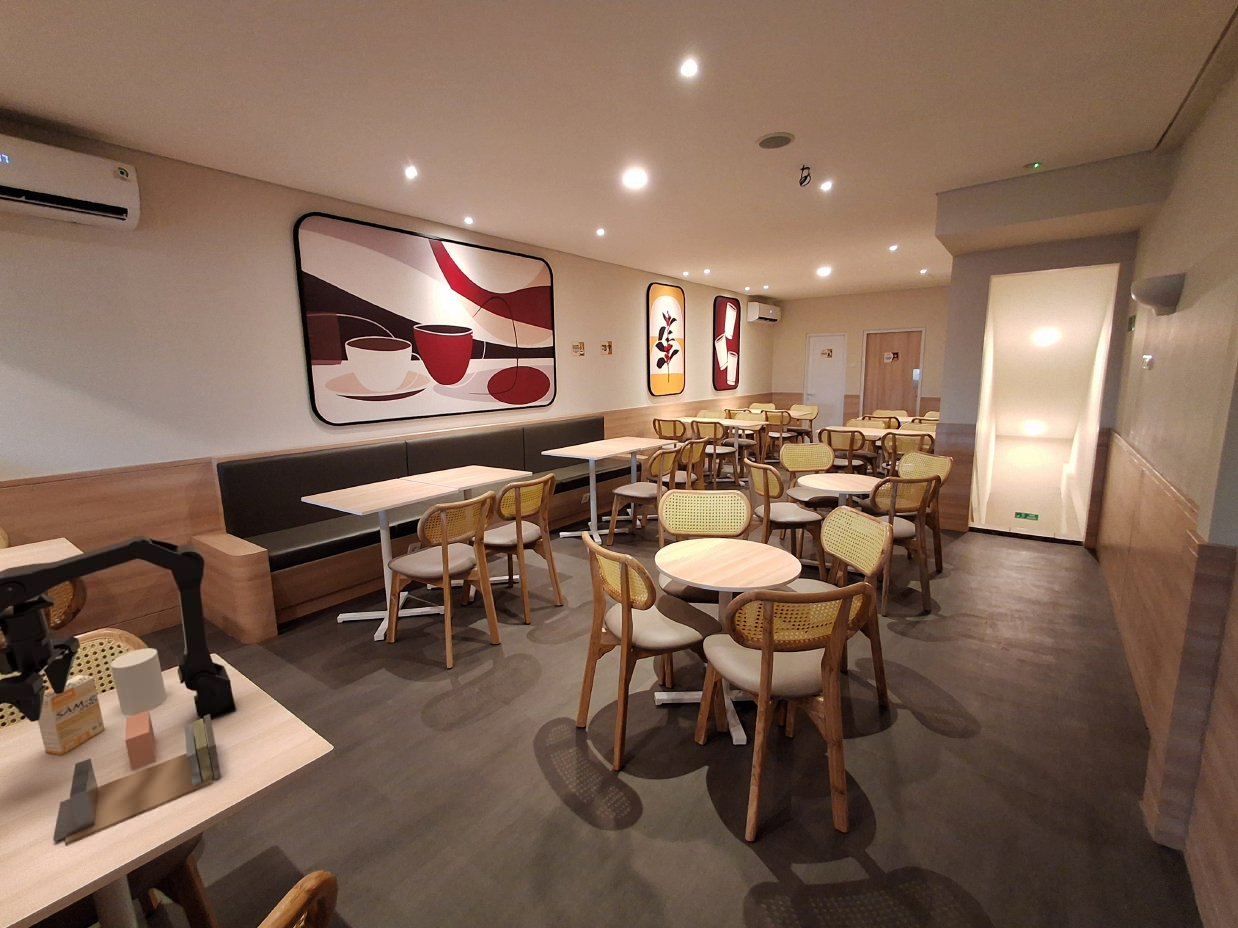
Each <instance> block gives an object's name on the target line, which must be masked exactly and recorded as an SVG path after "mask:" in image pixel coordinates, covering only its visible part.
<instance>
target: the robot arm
mask: <svg viewBox="0 0 1238 928" xmlns="http://www.w3.org/2000/svg"><path fill="white" fill-rule="evenodd" d="M135 560H142V561H144V562H147V563H149V564H152V565H155V566H158V567H159V568H162V569H166V570H169V571H171V574H172V576H173V579H174V582H175V584H176V587H177V589H178V590H177V591H178V599H179V606H180V613H181V622H182V631H183V638H184V651H183V654H178V655H175V657H176V662H177V666H178V669H177V675H178V679H179V683H180V684H184V685H185V688H186V689H187V690H190V691H193V692H195V693H196V694H195V695H194V696H193V699H194V706H195V711H196V715H197V718H200V719H203V722H204V723H205V721H204V716H205V715H208V714H210V718H211V720H213V719H216V718H219V717H221V716H222V717H223V716H224V715H226V714H230V713H232V712H235V711H236V710H237V706H236V702H235V699H234V695H233V689H232V684H231V678H230V677H229V674H228V673H227V670H226V668H225V666H224V665H223V664H219V663H216V662H214V661H213V659H212V656H211V653H210V651H209V648H208V645H207V636H206V627H205V618H204V610H203V602H202V601H203V599H202V593H201V589H202V584H203V578H204V571H205V559H204V557H203V554H202V553H201V551H200V550H199V548H197V547H196V546H194V545H191V544H181V545H178V544H174V543H171V542H168V541H164V540H158V539H153V538H150V537H148V536H145V535H137V536H133V537H131V538H129V539H127V540H123V541H119V542H116V543H113V544H110V545H105V546H103V547H100V548H97V549H93V550H90V551H87V552H83V553H79V554H76V555H73V556H69V557H67V558H63V559H59V560H55V561H51V562H50V561H49V562H43V563H40V562H39V563H30V564H25V565H19V566H18V565H17V566H13V567H9V568H5V569H3V570H0V631H1V635H2V637H3V641H4V645H3V646H1V647H0V674H1V673H2V674H3V676H7V675H12V674H14V673H17V674H18V675H12V676H8V677H4V678H1V679H0V705H2V704H9V705H11V706H13V707H14V708H16V710H18V711H19V712H20V713H21V714H22V715H24V717H25V718H27V719H28V720H29V722H31V723H33V722H38V720H39V719H40V715H41V710H42V704H43V698H44V693H45V691H46V684H44V676H43V674H42V672H44V674H45V676H46V678H47V680H48V682H49V685H50V687H51V688H53V690H54V692H55V693H56V694H60V693H63V692H64V689H65V686H66V683H67V680H69V677H70V673H71V671H72V668H73V665H74V662H75V659H76V656H77V654H78V650H79V649H80V648H81V644H80V641H79V640H80V639H79V638H77V637H75V636H73V635H68V636H63V637H59V638H53V637H54V636H55V635H56V634H57V633H56V629H55V628H54V629H49V626H48V622H47V619H46V615H45V612H44V610H45V609H48V608H51V607H53V606H55V603H56V598H55V596H54V597H53V596H50V595H46V594H44V593H46V592H49V591H50V590H51V589H53V588H55V587H58V586H59V585H61V584H63V583H67V582H69V581H72V580H75V579H79V578H82V577H85V576H88V575H91V574H94V573H97V572H101V571H104V570H106V569H109V568H113V567H115V566H120V565H123V564H125V563H128V562H129V563H130V562H131V561H135ZM52 638H53V639H52Z"/></svg>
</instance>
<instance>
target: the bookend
mask: <svg viewBox="0 0 1238 928" xmlns="http://www.w3.org/2000/svg"><path fill="white" fill-rule="evenodd" d="M98 787H99V786H98V783H97V779H96V776H95V771H94V767H93V763H92V759H91V758H88V759H85V760H82V761H80V762H77V763H75V764H74V771H73V775H72V781H71V787H70V791H69V798H68V799H66V800H62V801H61V802H60V803H59V808H58V812H57V818H56V824H55V828H54V833H53V838H52V839H53V842H56V841H59V840H61V839H63V838H66V836H69V835H71V834H74V833H76V832H78V831H81V830H83V829H86V828H88V827H91V826H93V825H95V818H96V809H97V800H98V791H99V790H98Z"/></svg>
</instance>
